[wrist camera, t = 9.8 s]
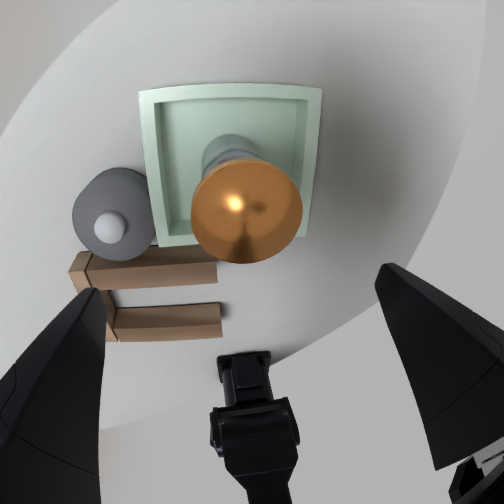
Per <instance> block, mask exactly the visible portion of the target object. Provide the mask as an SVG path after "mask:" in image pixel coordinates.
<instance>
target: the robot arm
mask: <svg viewBox="0 0 504 504" xmlns="http://www.w3.org/2000/svg"><path fill="white" fill-rule="evenodd" d="M375 290H376V293H377V296H378V299H379V302H380V305H381V307H382V310H383V314H384V317H385V320H386V323H387V326H388V328H389V331H390V333H391V336H392V338H393V340H394V343H395V345H396V348H397V350H398V353H399V355H400V358H401V360H402V363H403V366H404V368H405V371H406V374H407V376H408V379H409V382H410V385H411V388H412V390H413V393H414V396H415V399H416V402H417V406H418V408H419V412H420V415H421V418H422V421H423V424H424V429H425V432H426V435H427V440H428V443H429V447H430V451H431V455H432V459H433V464H434V468H435V470H436V471H437V470H439V469H442V468H444V467H446V466H449V465H451V464H453V463H456V462H457V461H460V460H462V459H464V458H466V457H468V456H469V457H468V458H467V459H466V460H464V461H463V462H462V463H460V464H459V465H458V466H457V469H456V473H455V475H454V478H453V481H452V484H451V486H450V489H449V491H448V492H449V495H450V498H451V502H452V504H504V331H503V330H502V329H500V328H498V327H497V326H495V325H494V324H492V323H490V322H489V321H487V320H486V319H484V318H483V317H481V316H480V315H478V314H477V313H475V312H473V311H472V310H470V309H469V308H467V307H466V306H464V305H462V304H461V303H459V302H458V301H456V300H455V299H453V298H452V297H450V296H449V295H447V294H445V293H444V292H442V291H440V290H439V289H437V288H435V287H434V286H432V285H431V284H429V283H427V282H426V281H424V280H422V279H420V278H419V277H417V276H415V275H414V274H412V273H410V272H409V271H407V270H405V269H404V268H402V267H400V266H398V265H397V264H395V263H385V264H383V265H382V266H381V268H380V270H379V273H378V275H377V278H376V281H375ZM106 323H107V307H106V305H105V302H104V300H103V298H102V296H101V293H100V291H99V289H98V288H96V287H87V288H84V289H83V290H82V291H81V292H80V293H79V294H78V295H77V296H76V297H75V298H74V299H73V300H72V301H71V302H70V303H69V304H68V305H67V306H66V307H65V308H64V309H63V310H62V311H61V312H60V313H59V314H58V315H57V316H56V317H55V318H54V319H53V320H52V321H51V322H50V323H49V324H48V326H47V327H46V328H45V329H44V330H43V331H42V332H41V333H40V334H39V335H38V336H37V337H36V339H35V340H34V341H33V342H32V343H31V344H30V345H29V346H28V348H27V349H26V350H25V351H24V352H23V353H22V355H21V356H20V357H19V358H18V359H17V360H16V363H14V364H13V365H12V367H11V368H10V369H9V370H8V371H7V373H6V374H5V375H4V376H3V377H2V379H1V380H0V504H101V495H100V482H99V466H98V465H99V464H98V433H99V410H100V396H101V385H102V376H103V367H104V359H105V340H106ZM270 359H271V355H270V352H261V353H253V354H244V355H235V356H224V357H218V358H217V366H218V372H219V378H220V382H221V383H223V387H224V395H225V403H226V407H220V408H217V407H213V412H211V413H210V423H211V431H210V432H211V433H210V445H211V446H212V447H214V448H215V450H216V452H217V454H218V456H219V457H224V462H225V467H226V469H227V471H228V472H229V473H230V474H231V475H232V476H233V477H234V478H235V479H236V480H237V481H238V482H239V483H240V484H241V485H242V486H243V488H244V489H246V491H247V495H248V501H249V504H292V500H291V496H290V492H289V488H288V481H289V479H290V477H291V474H292V472H293V469H294V467H295V465H296V463H297V460H298V453H297V448H296V446H297V445H299V444H300V437H299V431H298V427H297V423H296V420H295V417H294V414H293V411H292V409H291V406H290V403H289V400H288V397H283V398H281V399H276V400H274V398H273V394H272V389H271V386H270V381H269V376H268V372H269V365H270ZM223 423H224V424H223Z"/></svg>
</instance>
